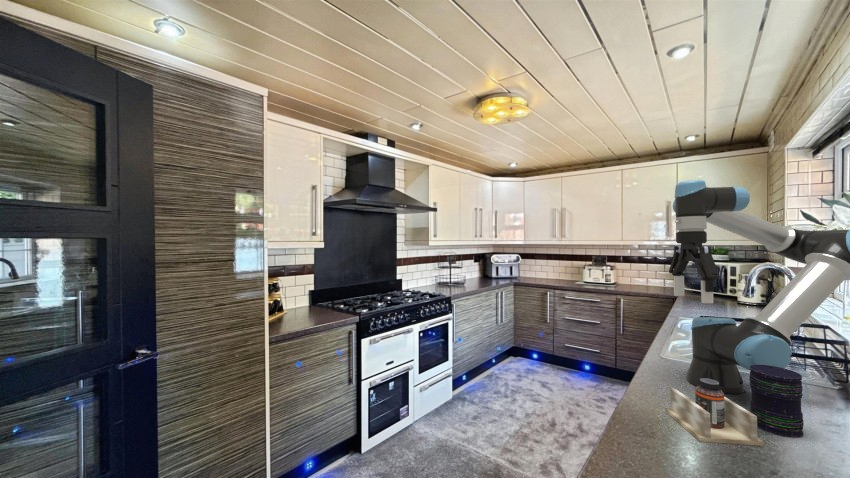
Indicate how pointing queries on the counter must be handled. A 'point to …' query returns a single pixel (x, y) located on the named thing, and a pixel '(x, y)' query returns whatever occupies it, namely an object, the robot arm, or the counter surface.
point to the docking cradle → (697, 421)
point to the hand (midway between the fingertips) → (692, 299)
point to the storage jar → (777, 400)
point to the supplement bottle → (711, 401)
